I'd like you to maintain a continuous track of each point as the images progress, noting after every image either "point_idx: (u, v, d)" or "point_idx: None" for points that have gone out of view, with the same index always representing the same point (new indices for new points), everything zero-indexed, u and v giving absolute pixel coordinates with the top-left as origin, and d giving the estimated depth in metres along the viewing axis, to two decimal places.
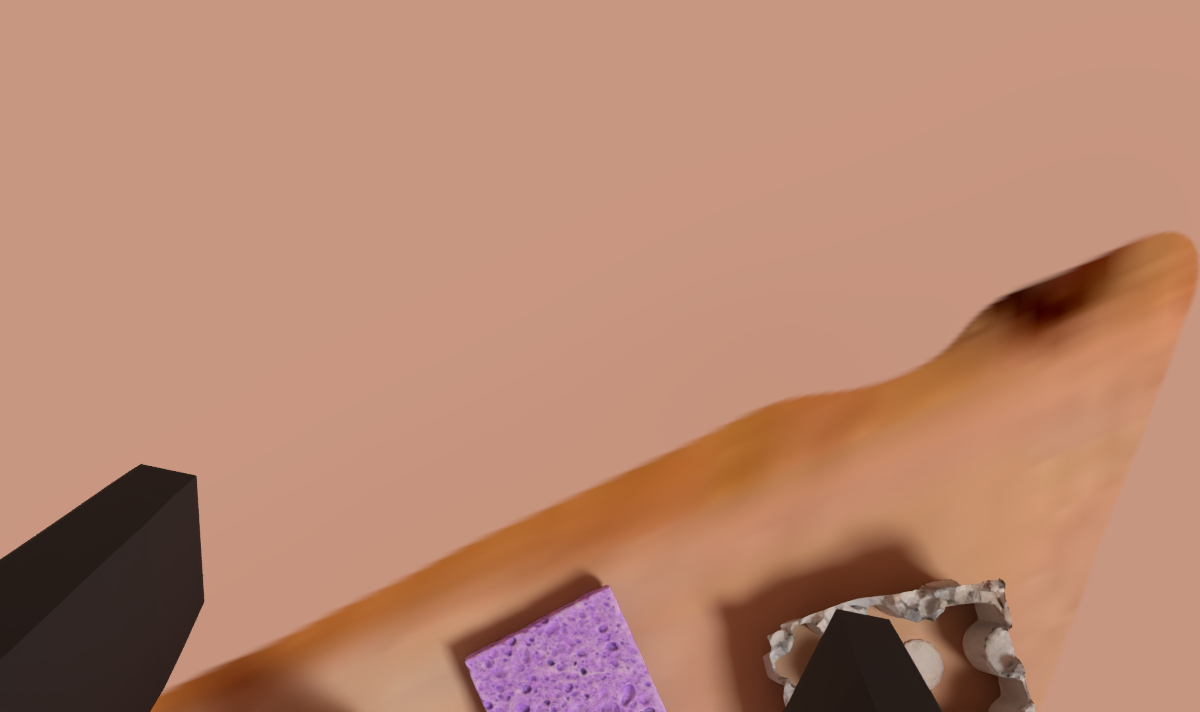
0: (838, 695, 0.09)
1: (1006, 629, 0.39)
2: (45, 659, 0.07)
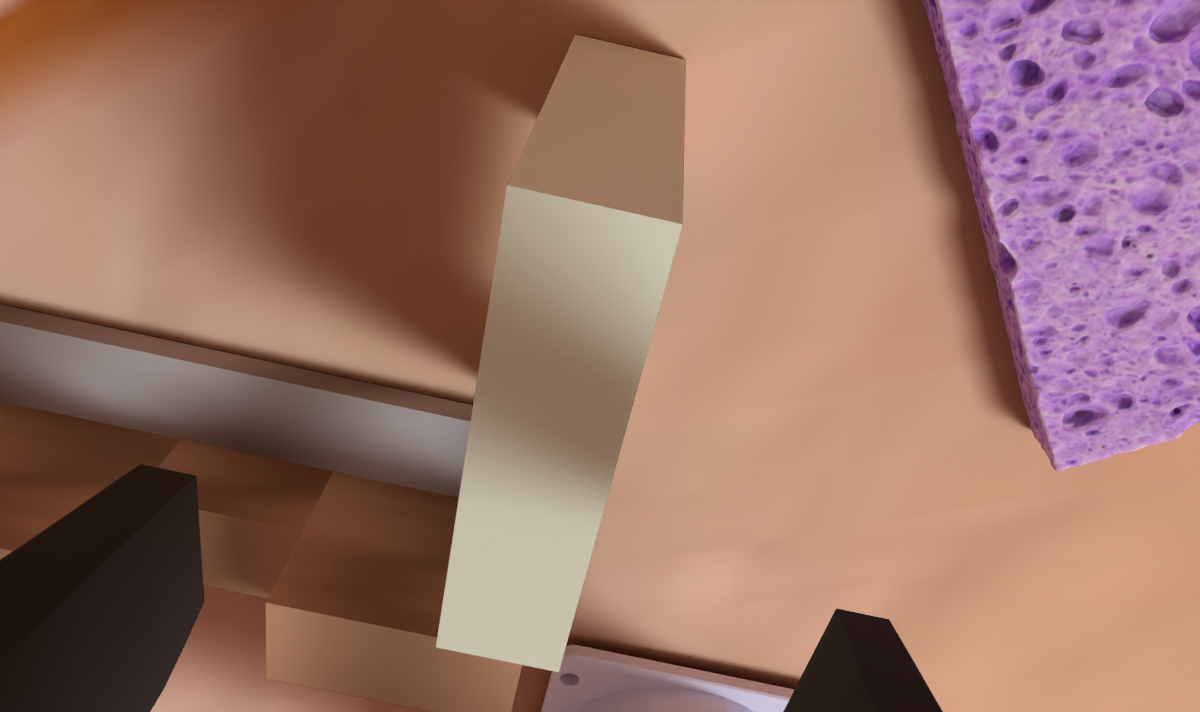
0: (838, 695, 0.09)
1: None
2: (45, 659, 0.07)
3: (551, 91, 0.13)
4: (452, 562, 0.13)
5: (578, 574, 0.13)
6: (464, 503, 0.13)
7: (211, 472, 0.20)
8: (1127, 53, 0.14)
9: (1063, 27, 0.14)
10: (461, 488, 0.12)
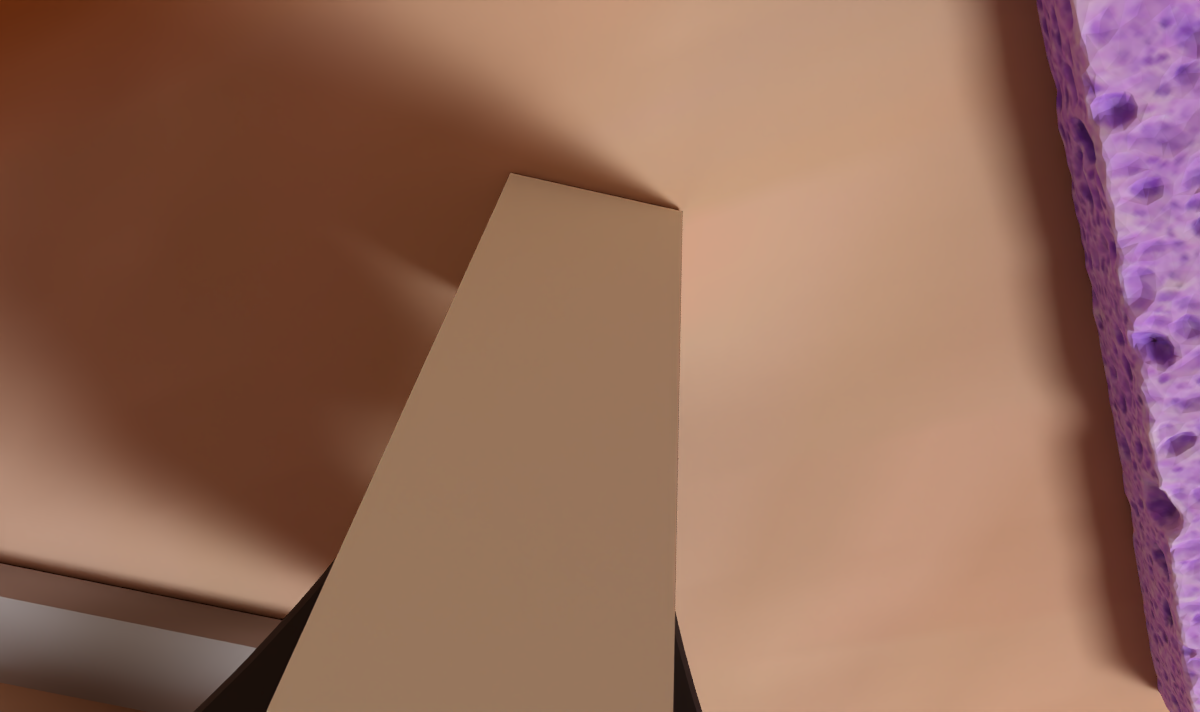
0: None
1: None
2: None
3: (443, 329, 0.07)
4: None
5: None
6: None
7: None
8: None
9: None
10: None
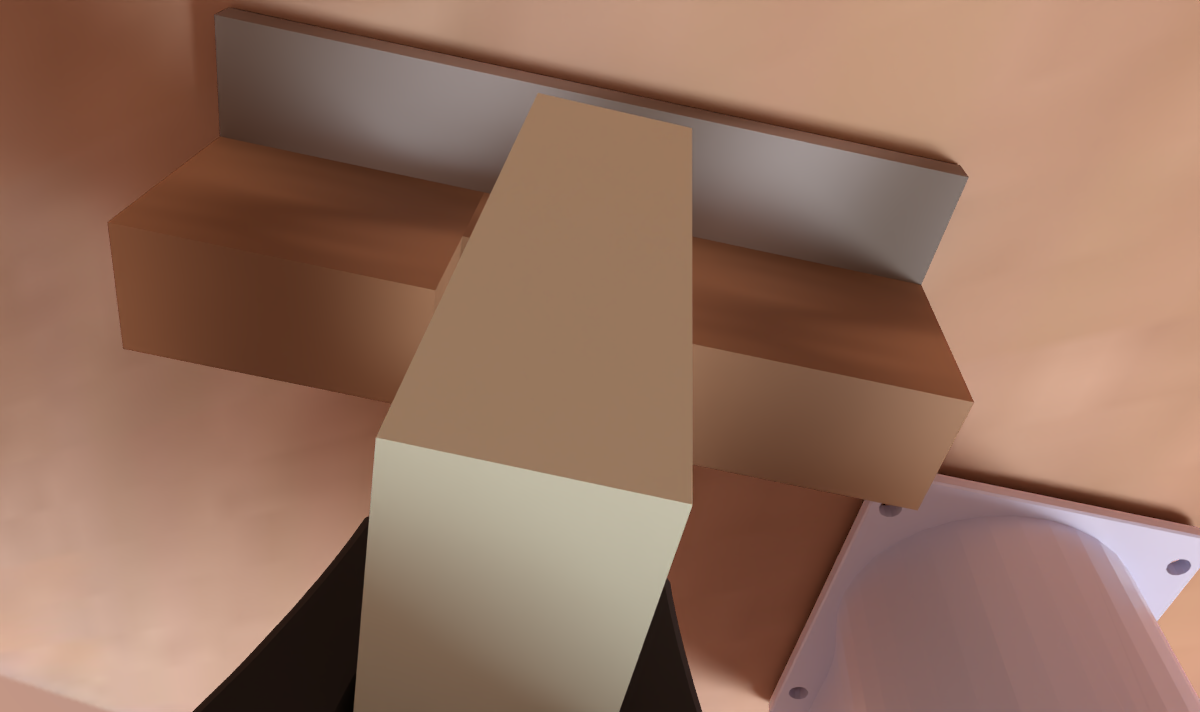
0: None
1: None
2: None
3: (489, 203, 0.09)
4: None
5: None
6: None
7: None
8: None
9: None
10: None
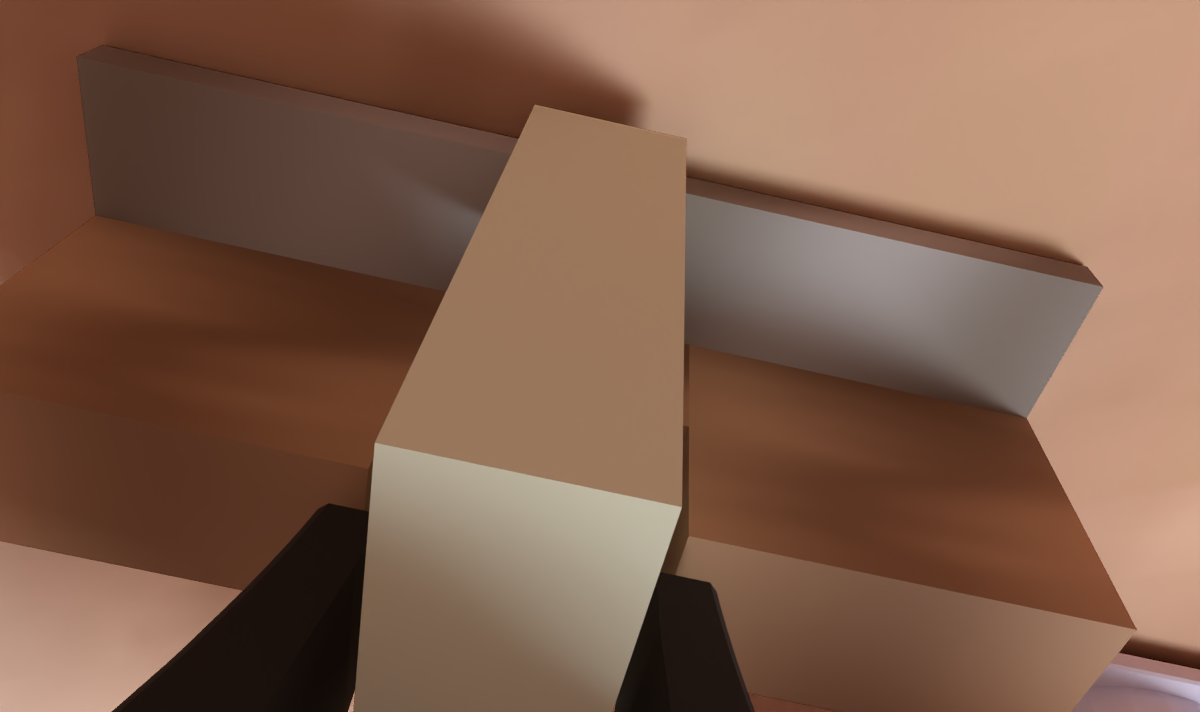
0: (647, 656, 0.09)
1: None
2: (285, 707, 0.08)
3: (486, 213, 0.09)
4: None
5: None
6: None
7: None
8: None
9: None
10: None
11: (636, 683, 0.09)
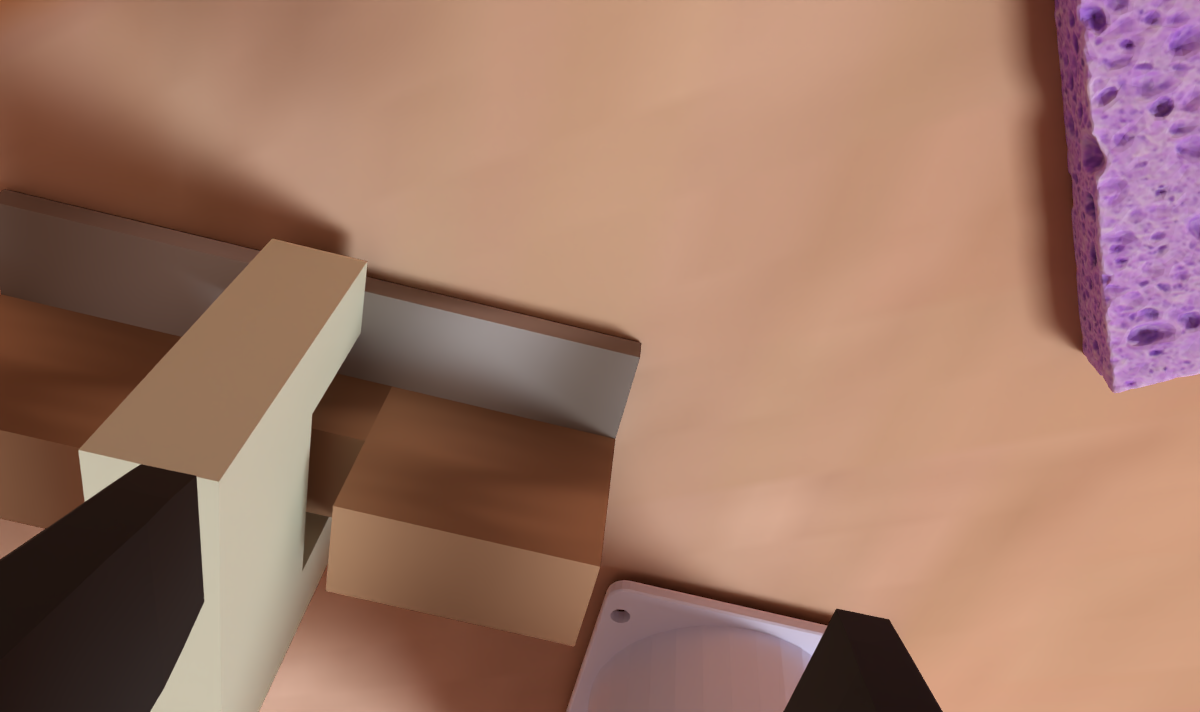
0: (838, 695, 0.09)
1: None
2: (45, 659, 0.07)
3: (197, 322, 0.16)
4: None
5: None
6: None
7: None
8: None
9: None
10: None
11: None
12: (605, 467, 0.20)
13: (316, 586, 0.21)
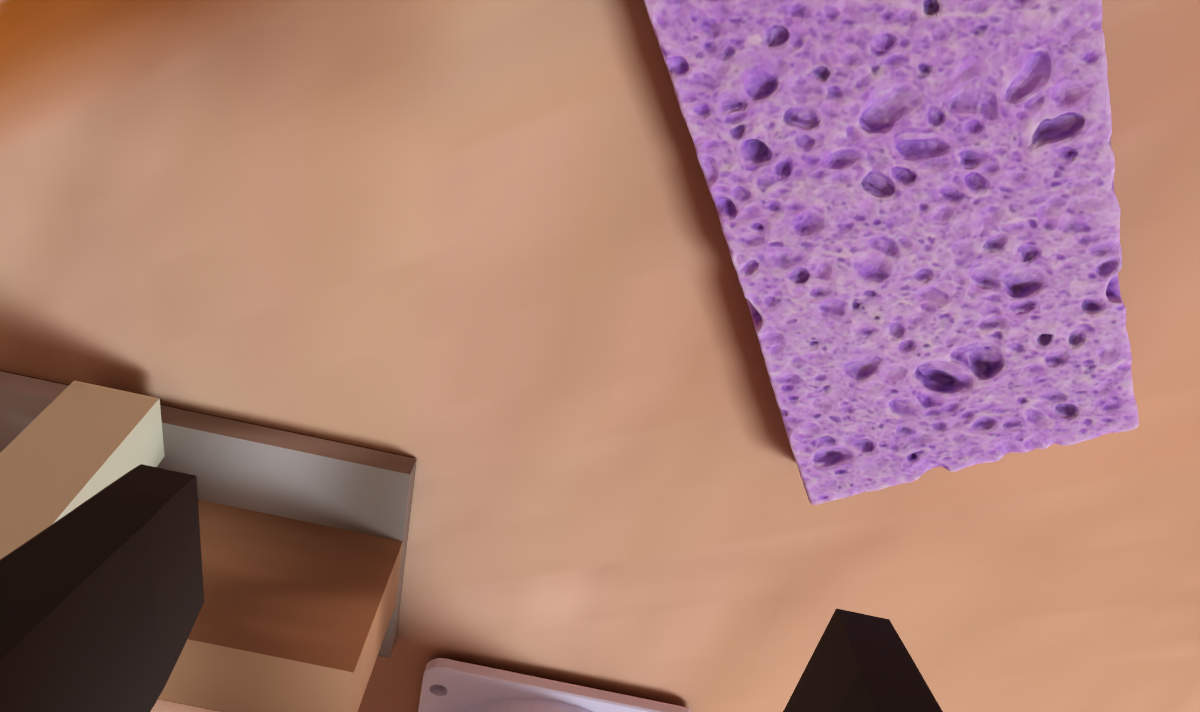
0: (838, 695, 0.09)
1: None
2: (45, 659, 0.07)
3: None
4: None
5: None
6: None
7: None
8: (841, 139, 0.16)
9: (785, 113, 0.16)
10: None
11: None
12: (385, 571, 0.22)
13: None
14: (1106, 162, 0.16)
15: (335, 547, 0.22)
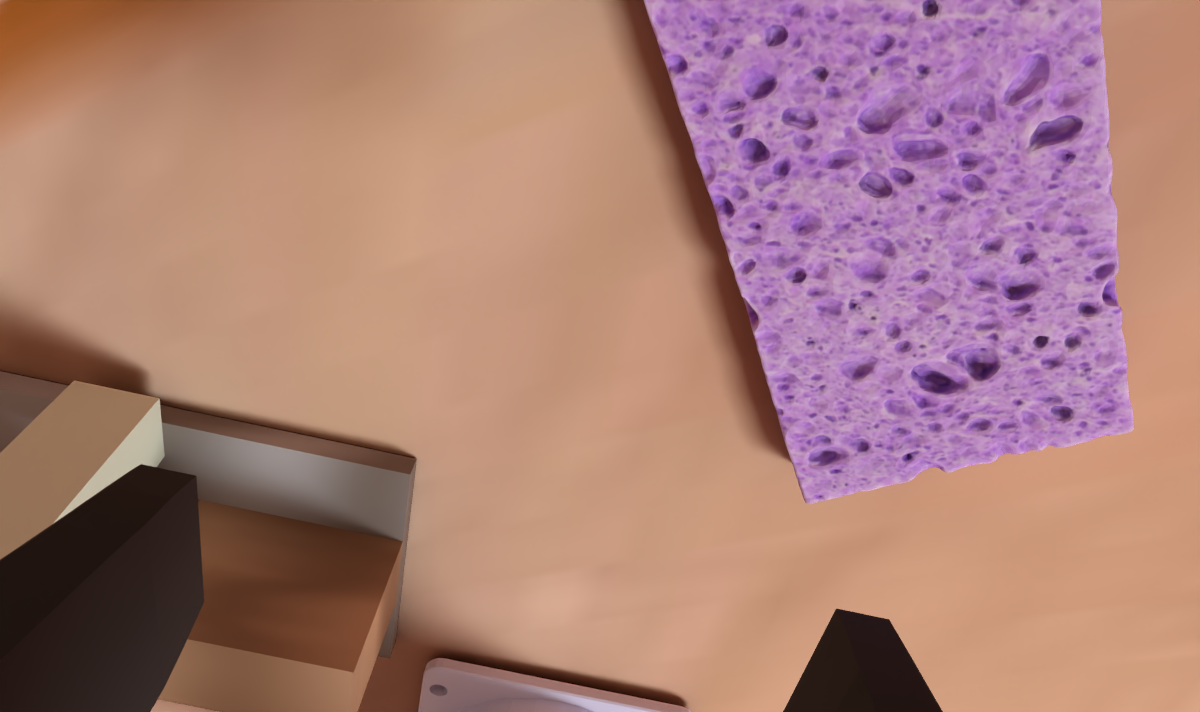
0: (838, 695, 0.09)
1: None
2: (45, 659, 0.07)
3: None
4: None
5: None
6: None
7: None
8: (838, 139, 0.16)
9: (784, 113, 0.16)
10: None
11: None
12: (385, 571, 0.22)
13: None
14: (1104, 165, 0.16)
15: (335, 547, 0.22)
